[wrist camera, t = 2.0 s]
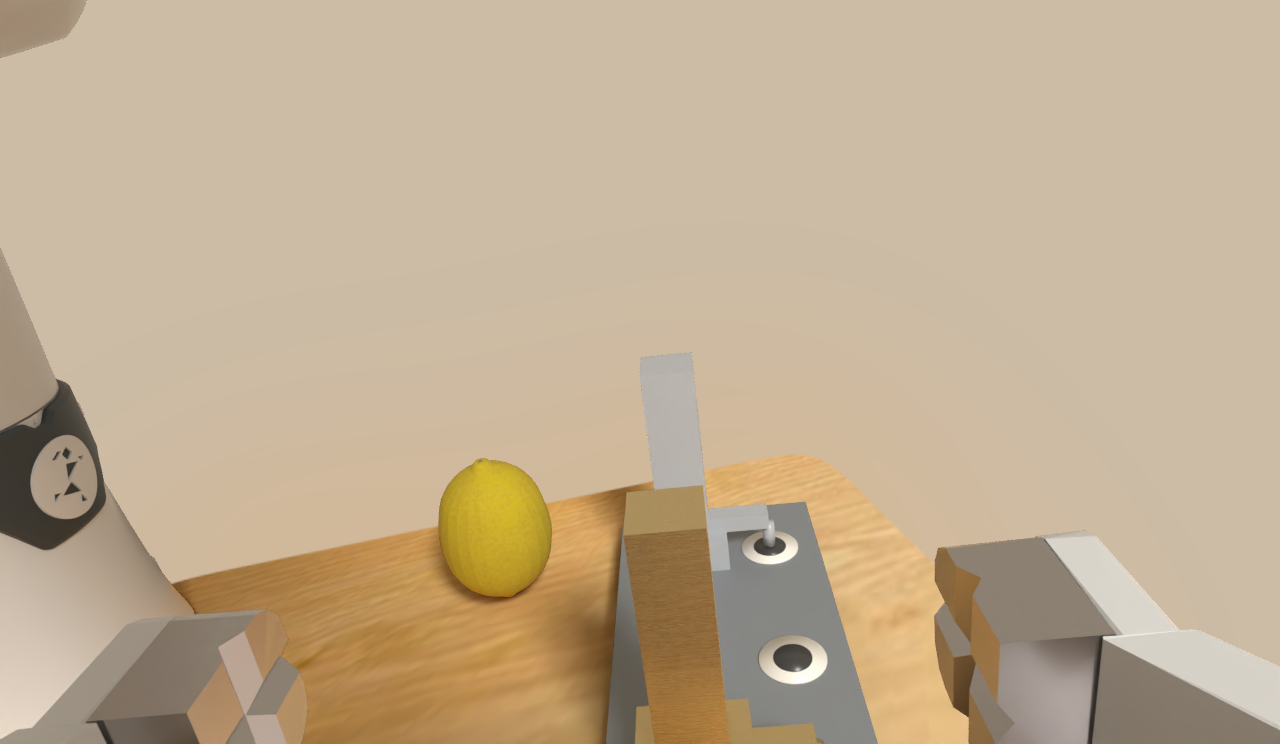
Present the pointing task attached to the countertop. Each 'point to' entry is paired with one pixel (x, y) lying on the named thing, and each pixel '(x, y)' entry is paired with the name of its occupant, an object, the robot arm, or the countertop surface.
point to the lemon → (494, 528)
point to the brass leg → (684, 628)
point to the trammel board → (744, 592)
